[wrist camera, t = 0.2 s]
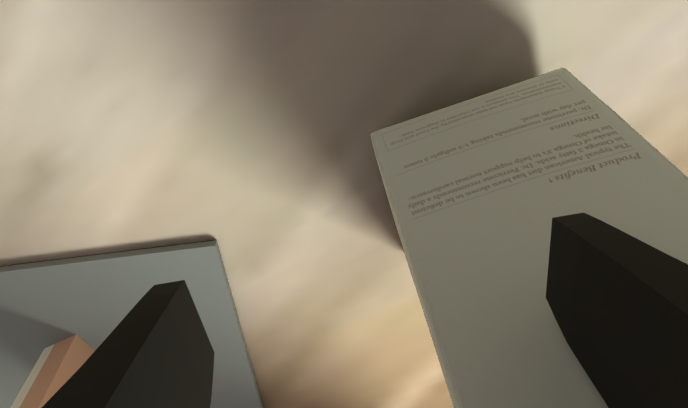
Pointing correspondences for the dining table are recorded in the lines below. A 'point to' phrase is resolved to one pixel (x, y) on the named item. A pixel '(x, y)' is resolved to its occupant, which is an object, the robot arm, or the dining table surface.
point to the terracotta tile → (52, 371)
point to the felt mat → (118, 311)
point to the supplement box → (517, 227)
